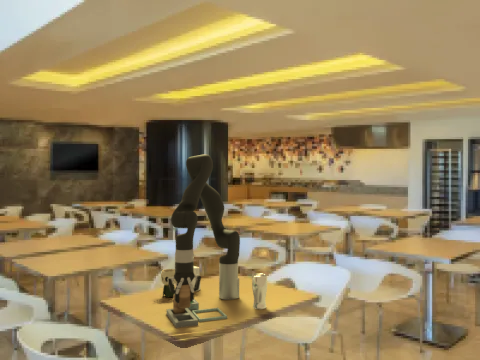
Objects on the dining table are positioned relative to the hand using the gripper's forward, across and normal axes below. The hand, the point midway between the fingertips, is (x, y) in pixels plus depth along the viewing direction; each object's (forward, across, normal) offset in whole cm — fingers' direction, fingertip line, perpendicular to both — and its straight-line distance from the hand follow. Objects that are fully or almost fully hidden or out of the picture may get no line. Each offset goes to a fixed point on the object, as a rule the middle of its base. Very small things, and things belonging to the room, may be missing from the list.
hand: (184, 301), depth 185 cm
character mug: (+10, -3, -43) cm, 44 cm away
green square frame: (+9, -12, -5) cm, 16 cm away
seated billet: (+9, 0, -9) cm, 12 cm away
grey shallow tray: (+10, 0, -4) cm, 11 cm away
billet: (+2, 0, 0) cm, 2 cm away
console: (+9, -6, -18) cm, 21 cm away
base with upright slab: (+10, -17, -52) cm, 56 cm away
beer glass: (+10, -38, -11) cm, 41 cm away
